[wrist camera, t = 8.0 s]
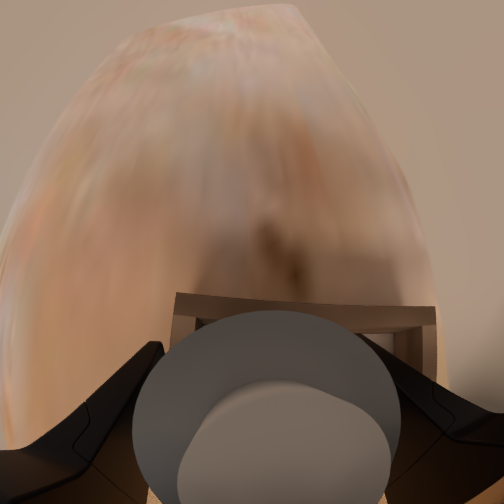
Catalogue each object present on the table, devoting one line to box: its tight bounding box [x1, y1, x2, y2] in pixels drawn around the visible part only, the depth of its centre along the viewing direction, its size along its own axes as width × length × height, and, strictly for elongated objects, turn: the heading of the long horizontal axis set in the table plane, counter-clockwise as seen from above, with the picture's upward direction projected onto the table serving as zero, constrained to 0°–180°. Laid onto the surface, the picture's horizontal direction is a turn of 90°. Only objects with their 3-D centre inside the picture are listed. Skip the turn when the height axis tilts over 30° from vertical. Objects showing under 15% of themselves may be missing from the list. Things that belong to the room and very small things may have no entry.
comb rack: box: [169, 292, 437, 382], centre depth 15 cm, size 8×16×4 cm, turn 86°
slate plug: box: [132, 310, 401, 504], centre depth 9 cm, size 5×5×15 cm
